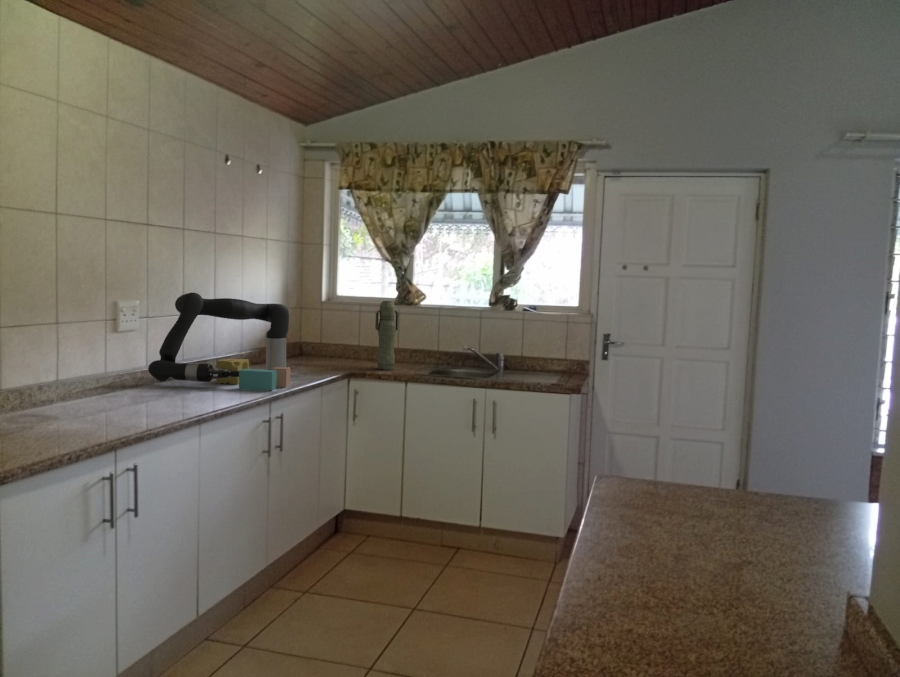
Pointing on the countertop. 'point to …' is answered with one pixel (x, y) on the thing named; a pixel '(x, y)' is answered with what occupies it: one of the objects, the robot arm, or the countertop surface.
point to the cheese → (234, 366)
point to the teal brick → (257, 379)
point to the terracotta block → (282, 376)
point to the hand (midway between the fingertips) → (240, 374)
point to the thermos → (386, 335)
